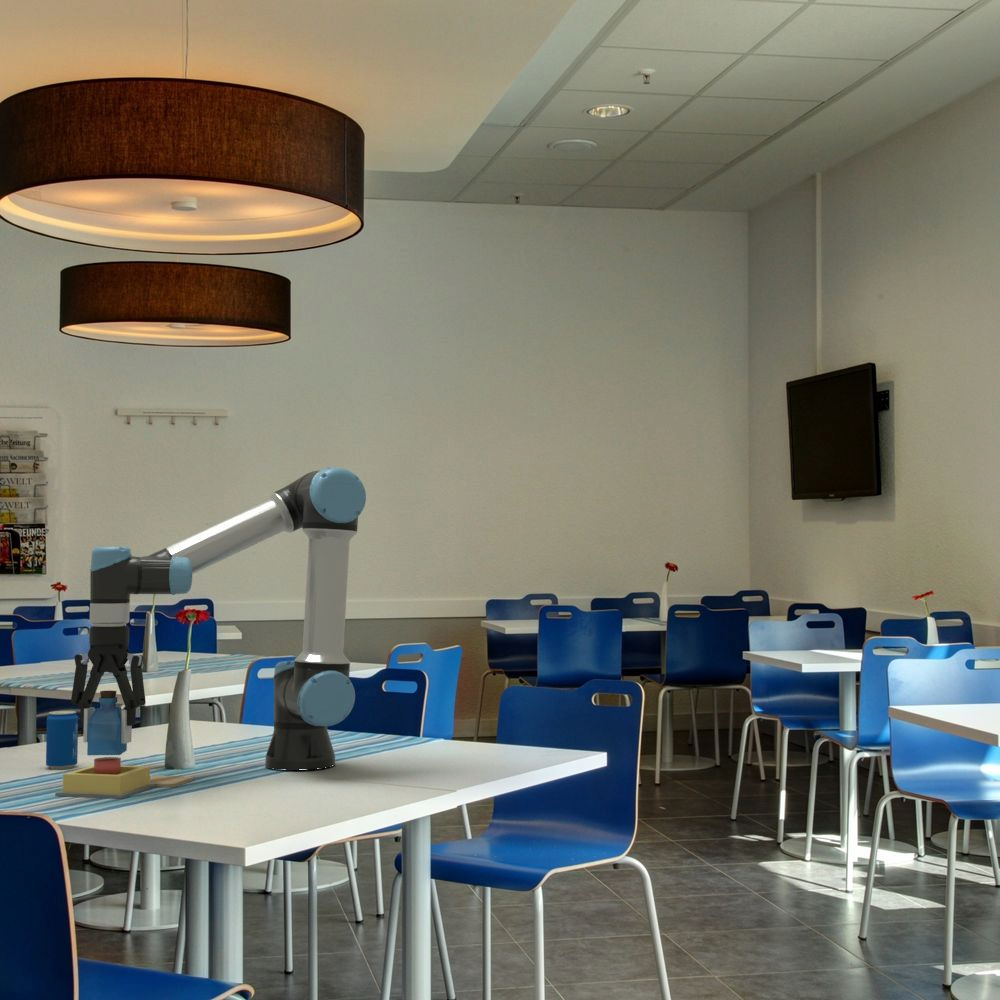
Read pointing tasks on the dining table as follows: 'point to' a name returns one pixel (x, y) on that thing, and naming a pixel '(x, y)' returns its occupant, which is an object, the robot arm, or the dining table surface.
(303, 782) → the dining table surface
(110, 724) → the perfume bottle
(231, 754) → the dining table surface
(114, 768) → the red short rounded piece
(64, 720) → the beverage can
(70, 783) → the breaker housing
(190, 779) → the coaster
